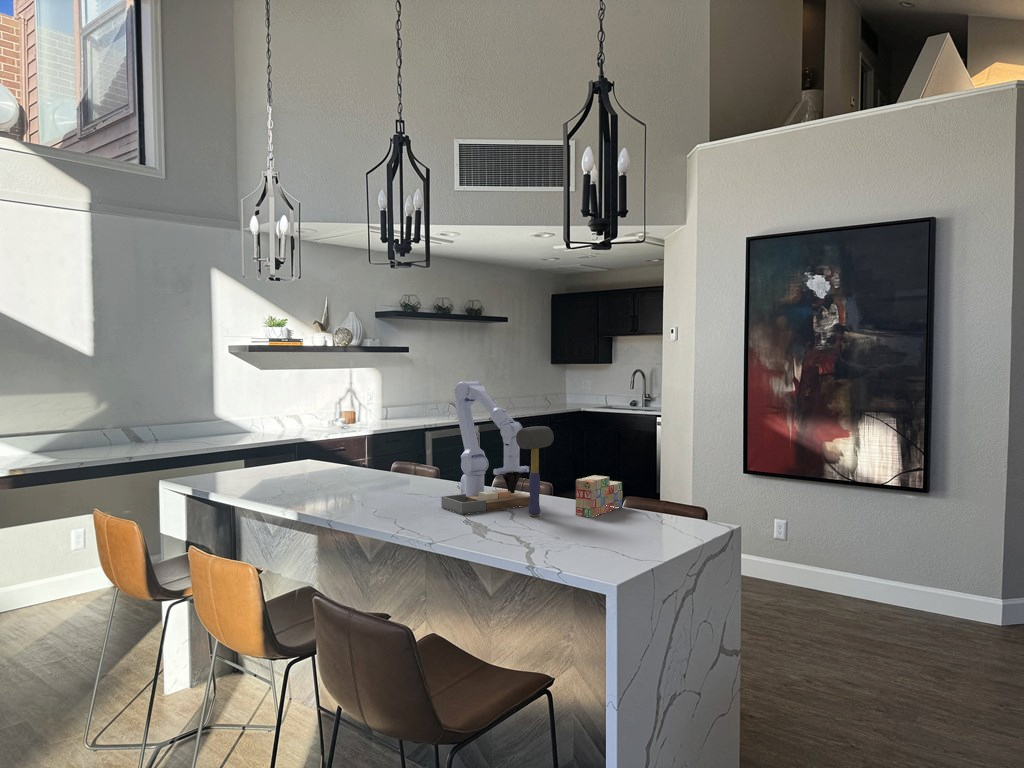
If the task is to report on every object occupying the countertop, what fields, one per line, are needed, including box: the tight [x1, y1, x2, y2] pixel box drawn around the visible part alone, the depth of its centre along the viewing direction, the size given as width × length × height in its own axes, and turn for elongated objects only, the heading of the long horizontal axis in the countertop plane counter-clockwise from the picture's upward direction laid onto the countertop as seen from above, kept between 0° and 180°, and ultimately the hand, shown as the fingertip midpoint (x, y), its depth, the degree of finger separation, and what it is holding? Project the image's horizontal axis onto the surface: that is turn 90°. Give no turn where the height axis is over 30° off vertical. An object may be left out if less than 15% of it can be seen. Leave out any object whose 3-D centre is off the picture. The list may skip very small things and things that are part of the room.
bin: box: [440, 493, 487, 515], centre depth 246 cm, size 14×10×4 cm
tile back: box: [492, 488, 511, 498], centre depth 255 cm, size 5×5×2 cm
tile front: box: [478, 490, 498, 500], centre depth 251 cm, size 5×5×2 cm
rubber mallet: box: [516, 425, 555, 518], centre depth 235 cm, size 12×8×30 cm, turn 137°
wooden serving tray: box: [466, 491, 530, 512], centre depth 254 cm, size 14×20×3 cm
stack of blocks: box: [575, 474, 623, 518], centre depth 244 cm, size 21×6×12 cm, turn 143°
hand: (511, 493), depth 257 cm, fingers closed
